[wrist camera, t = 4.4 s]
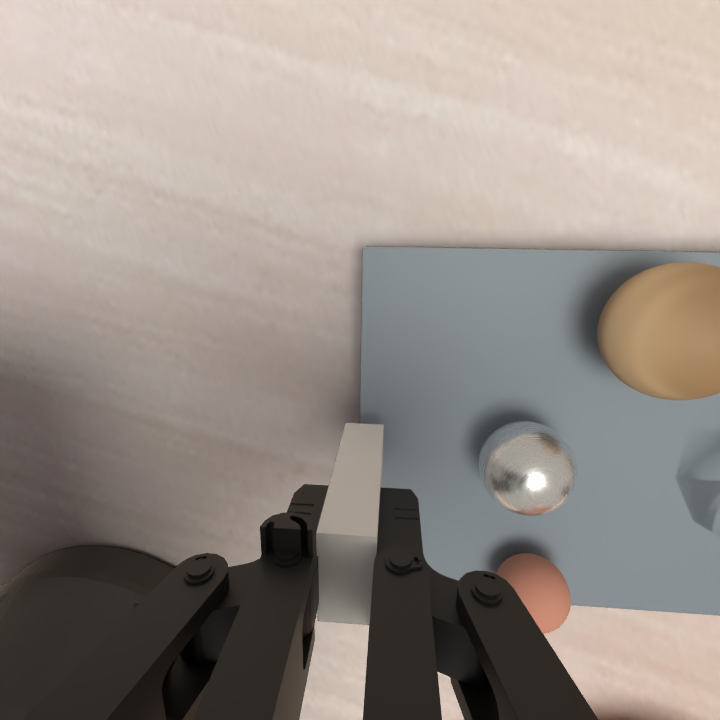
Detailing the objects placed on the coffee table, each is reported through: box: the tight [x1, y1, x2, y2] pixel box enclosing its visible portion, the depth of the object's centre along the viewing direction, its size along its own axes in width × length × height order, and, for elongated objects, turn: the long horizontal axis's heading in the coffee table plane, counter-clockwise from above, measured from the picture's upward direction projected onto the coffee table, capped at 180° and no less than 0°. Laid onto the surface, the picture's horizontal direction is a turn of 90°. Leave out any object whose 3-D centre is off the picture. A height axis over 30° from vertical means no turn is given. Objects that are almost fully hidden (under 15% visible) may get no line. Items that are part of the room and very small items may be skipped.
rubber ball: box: [497, 553, 571, 634], centre depth 18 cm, size 3×3×3 cm
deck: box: [360, 246, 720, 615], centre depth 19 cm, size 25×16×2 cm, turn 89°
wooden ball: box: [597, 262, 720, 400], centre depth 14 cm, size 4×4×4 cm
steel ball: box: [479, 421, 578, 516], centre depth 16 cm, size 4×4×4 cm
